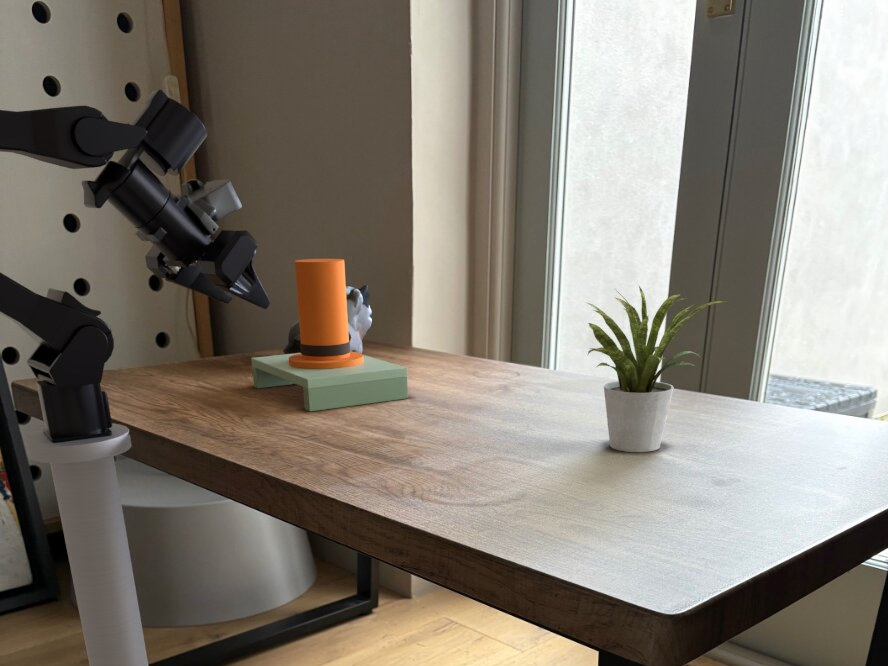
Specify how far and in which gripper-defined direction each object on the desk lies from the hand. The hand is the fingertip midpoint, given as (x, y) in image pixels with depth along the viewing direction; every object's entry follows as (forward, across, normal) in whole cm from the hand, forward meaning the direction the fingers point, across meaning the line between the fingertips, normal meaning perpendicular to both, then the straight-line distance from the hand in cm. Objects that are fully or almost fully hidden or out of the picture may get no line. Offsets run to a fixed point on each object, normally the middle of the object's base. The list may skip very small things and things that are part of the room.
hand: (248, 303), depth 115 cm
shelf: (+17, 0, +1) cm, 17 cm away
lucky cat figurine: (+28, +22, -10) cm, 37 cm away
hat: (+14, 0, -2) cm, 14 cm away
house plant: (+22, -48, -4) cm, 53 cm away
